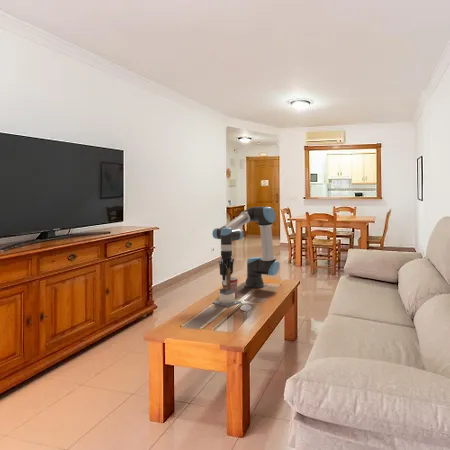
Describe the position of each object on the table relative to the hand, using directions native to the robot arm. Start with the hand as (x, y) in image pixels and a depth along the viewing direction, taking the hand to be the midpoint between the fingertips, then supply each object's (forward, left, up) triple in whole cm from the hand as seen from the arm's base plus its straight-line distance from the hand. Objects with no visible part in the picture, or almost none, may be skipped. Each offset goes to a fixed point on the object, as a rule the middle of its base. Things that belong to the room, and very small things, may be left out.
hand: (226, 284), depth 289 cm
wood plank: (0, 0, -4) cm, 4 cm away
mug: (-15, -11, -13) cm, 23 cm away
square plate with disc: (0, 0, -13) cm, 13 cm away
